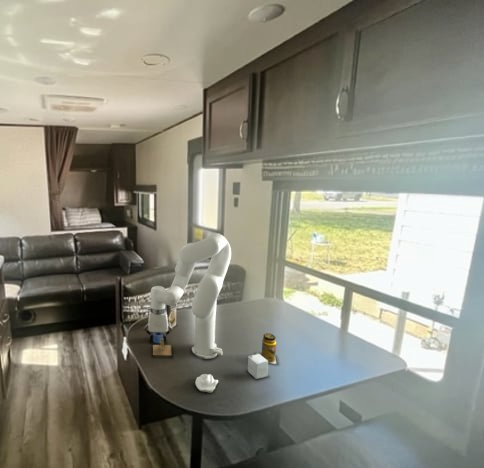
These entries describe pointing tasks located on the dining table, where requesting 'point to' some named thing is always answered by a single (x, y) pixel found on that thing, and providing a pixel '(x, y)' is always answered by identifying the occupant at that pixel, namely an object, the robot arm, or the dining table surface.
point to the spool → (157, 336)
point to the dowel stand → (161, 348)
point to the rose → (206, 383)
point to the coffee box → (171, 314)
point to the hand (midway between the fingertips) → (158, 341)
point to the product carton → (257, 366)
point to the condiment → (269, 348)
